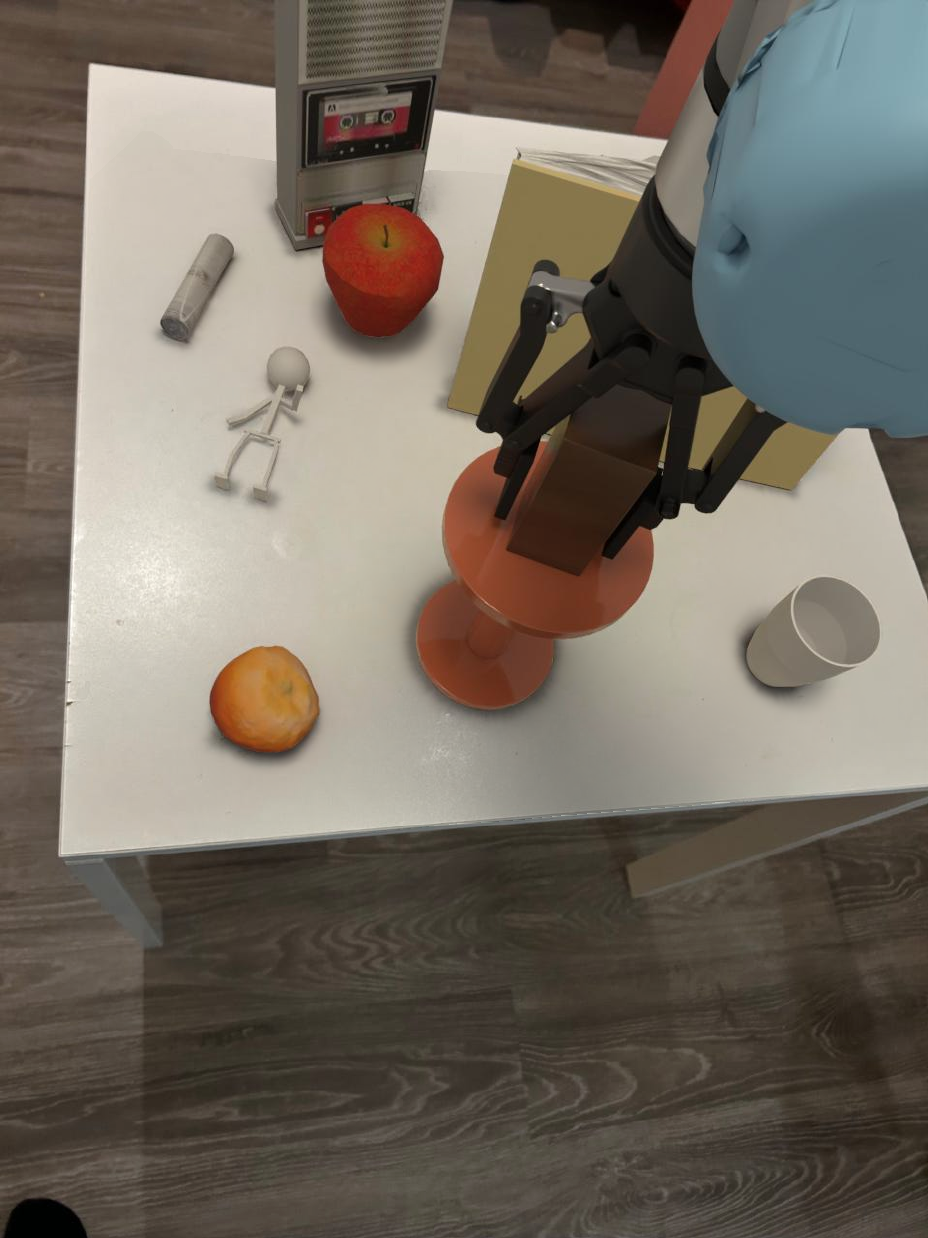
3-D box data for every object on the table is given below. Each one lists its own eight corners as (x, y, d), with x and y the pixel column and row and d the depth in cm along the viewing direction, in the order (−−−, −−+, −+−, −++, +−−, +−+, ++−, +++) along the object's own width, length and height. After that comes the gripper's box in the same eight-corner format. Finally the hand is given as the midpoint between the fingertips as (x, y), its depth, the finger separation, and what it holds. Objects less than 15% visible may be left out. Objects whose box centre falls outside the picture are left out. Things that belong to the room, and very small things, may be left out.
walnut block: (579, 577, 52) (656, 473, 41) (505, 550, 51) (563, 439, 41) (596, 513, 54) (674, 399, 43) (525, 487, 54) (585, 365, 43)
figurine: (196, 453, 67) (255, 310, 72) (205, 488, 72) (259, 353, 78) (270, 476, 67) (324, 332, 72) (273, 508, 73) (323, 373, 78)
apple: (360, 383, 79) (372, 289, 68) (297, 306, 81) (298, 202, 70) (449, 340, 83) (474, 245, 72) (387, 267, 85) (402, 164, 74)
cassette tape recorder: (296, 253, 83) (299, -12, 61) (275, 210, 85) (270, -64, 62) (419, 230, 88) (464, -24, 65) (396, 189, 90) (433, -72, 67)
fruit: (186, 662, 63) (237, 627, 58) (276, 675, 69) (330, 644, 63) (185, 765, 60) (238, 738, 55) (279, 770, 66) (336, 746, 60)
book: (444, 414, 79) (511, 169, 58) (453, 361, 83) (519, 114, 63) (791, 498, 83) (966, 298, 63) (783, 443, 88) (945, 239, 67)
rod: (208, 249, 81) (206, 227, 79) (235, 259, 82) (233, 237, 79) (160, 336, 76) (156, 315, 74) (189, 346, 77) (185, 325, 74)
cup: (808, 628, 78) (876, 583, 69) (815, 709, 75) (888, 673, 66) (728, 614, 77) (787, 567, 68) (732, 696, 73) (794, 658, 64)
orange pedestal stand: (540, 744, 68) (631, 663, 50) (381, 688, 67) (415, 586, 49) (577, 601, 74) (671, 483, 56) (431, 548, 73) (479, 411, 55)
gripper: (978, 243, 33) (710, 525, 54) (524, 60, 32) (430, 421, 52) (976, 381, 29) (691, 624, 50) (470, 183, 28) (393, 515, 49)
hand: (558, 520), depth 51 cm, fingers open, 6 cm apart
